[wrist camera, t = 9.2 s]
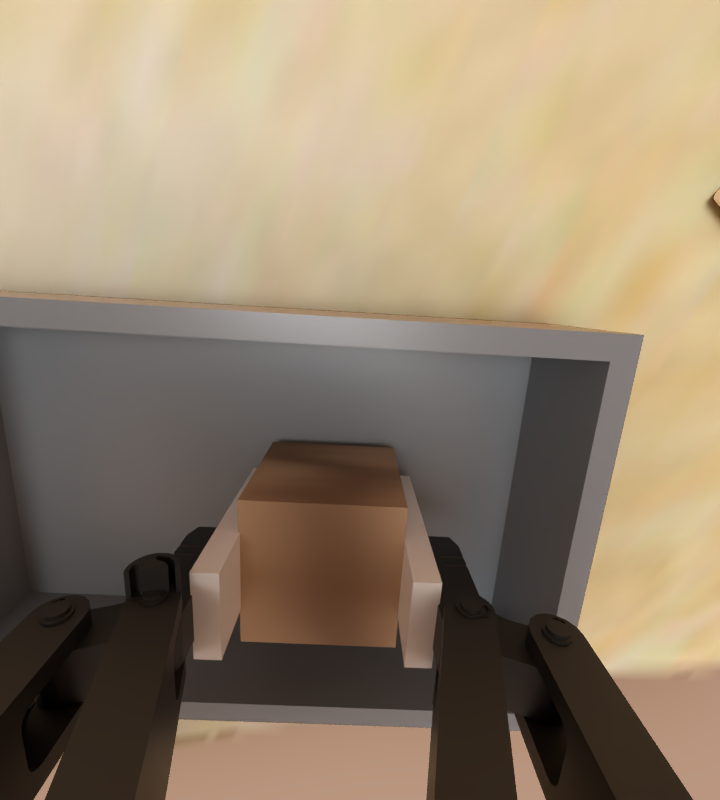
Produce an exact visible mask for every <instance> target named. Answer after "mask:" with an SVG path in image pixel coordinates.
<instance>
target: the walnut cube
mask: <svg viewBox="0 0 720 800" xmlns="http://www.w3.org/2000/svg"><path fill="white" fill-rule="evenodd" d="M237 504H238V532H239V533H240V584H241V610H240V635H241V641H244V642H269V643H294V644H318V645H343V646H368V647H393V648H395V647H396V636H397V624H398V607H399V597H400V587H401V576H402V566H403V556H404V545H405V535H406V524H407V513H408V506H407V502H406V498H405V494H404V489H403V485H402V481H401V477H400V473H399V469H398V465H397V460H396V456H395V452H394V448H390V447H369V446H348V445H328V444H307V443H286V442H273V443H272V445H271V446H270V448H269V449H268V451H267V453H266V454H265V456H264V458H263V459H262V461H261V462H260V464H259V466H258V467H257V469H256V471H255V472H254V474H253V475H252V477H251V479H250V480H249V482H248V484H247V485H246V487H245V489H244V490H243V492H242V493H241V495H240V497H239V498H238V500H237Z"/></svg>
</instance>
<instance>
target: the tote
mask: <svg viewBox="0 0 720 800" xmlns="http://www.w3.org/2000/svg"><path fill="white" fill-rule="evenodd" d="M643 337H644V335H638V334H630V333H621V332H613V331H604V330H596V329H587V328H578V327H570V326H561V325H553V324H541V323H524V322H508V321H491V320H475V319H458V318H441V317H425V316H408V315H392V314H375V313H358V312H342V311H325V310H309V309H292V308H276V307H259V306H242V305H226V304H209V303H193V302H176V301H160V300H143V299H126V298H110V297H93V296H77V295H60V294H43V293H27V292H10V291H0V642H1V641H2V640H3V639H4V638H5V637H6V636H7V635H8V634H9V633H10V632H11V631H12V630H13V629H14V628H15V627H16V626H17V625H18V624H19V623H20V622H21V621H22V620H23V619H24V618H25V617H26V616H27V615H28V614H29V613H31V612H32V611H33V610H35V609H36V608H37V607H38V606H40V605H42V604H44V603H46V602H48V601H50V600H52V599H55V598H59V597H62V596H67V595H80V596H85V597H86V598H87V599H88V600H89V601H90V608H91V609H95V608H101V607H106V606H111V605H116V604H120V603H124V602H125V600H126V595H125V585H124V575H123V571H124V570H125V569H126V567H127V566H128V565H129V564H130V563H132V562H133V561H135V560H136V559H138V558H141V557H143V556H146V555H149V554H154V553H169V554H173V555H174V552H175V551H176V549H177V548H178V547H180V544H181V542H182V541H183V540H184V538H185V537H186V535H187V534H189V533H190V532H192V531H193V530H195V529H196V528H198V527H199V526H200V527H217V526H218V525H219V523H220V522H221V520H222V518H223V517H224V515H225V513H226V512H227V510H228V509H229V507H230V505H231V504H232V502H233V500H234V499H235V497H236V496H237V494H238V492H239V491H240V489H241V487H242V486H243V484H244V483H245V481H246V479H247V478H248V476H249V474H250V473H251V471H252V470H253V468H257V467H258V466H259V464H260V462H261V461H262V459H263V458H264V456H265V454H266V453H267V451H268V449H269V448H270V446H271V445H272V443H273V442H286V443H307V444H328V445H348V446H369V447H390V448H394V452H395V456H396V460H397V465H398V469H399V473H400V475H402V476H410V479H411V482H412V486H413V489H414V492H415V495H416V499H417V502H418V505H419V509H420V512H421V515H422V518H423V522H424V525H425V528H426V532H427V535H428V536H436V537H449V538H451V539H452V540H453V541H454V542H455V543H456V544H457V545H458V546H459V548H460V551H461V553H462V555H463V558H464V560H465V563H466V567H468V570H469V572H470V575H471V577H472V579H473V582H474V584H475V587H476V589H477V591H478V594H479V596H481V597H482V598H484V599H485V600H487V601H488V602H489V603H490V604H491V605H492V606H493V608H494V610H495V613H496V614H497V615H499V616H500V617H502V618H505V619H508V620H511V621H514V622H517V623H521V624H524V625H528V624H529V621H530V618H531V617H533V616H534V615H536V614H543V613H546V614H552V615H556V616H558V617H561V618H563V619H565V620H567V621H569V622H570V623H571V624H573V625H574V626H576V627H577V626H578V622H579V618H580V613H581V609H582V604H583V600H584V596H585V591H586V587H587V583H588V578H589V574H590V569H591V565H592V561H593V556H594V552H595V548H596V543H597V539H598V534H599V530H600V526H601V521H602V517H603V512H604V508H605V504H606V499H607V495H608V491H609V486H610V482H611V477H612V473H613V469H614V464H615V460H616V456H617V451H618V447H619V442H620V438H621V434H622V429H623V425H624V420H625V416H626V412H627V407H628V403H629V399H630V394H631V390H632V385H633V381H634V377H635V372H636V368H637V364H638V359H639V355H640V350H641V346H642V342H643ZM185 660H186V677H185V683H184V689H183V695H182V701H181V707H180V713H179V719H189V720H218V721H247V722H275V723H304V724H333V725H362V726H392V727H419V728H432V714H433V705H432V699H433V691H434V684H435V676H436V668H437V666H436V661H435V657H434V654H433V662H432V668H408V667H404V661H403V654H402V646H401V638H400V631H399V623H398V624H397V636H396V647H395V648H393V647H368V646H343V645H318V644H294V643H269V642H244V641H241V635H240V613H239V615H238V618H237V621H236V623H235V626H234V629H233V631H232V634H231V637H230V639H229V642H228V645H227V647H226V650H225V653H224V655H223V658H222V660H201V659H194V657H193V644H192V646H191V648H190V650H189V652H188V654H187V656H186V658H185ZM507 714H508V723H509V731H520V728H519V725H518V723H517V720H516V717H515V715H514V712H511V711H508V710H507Z"/></svg>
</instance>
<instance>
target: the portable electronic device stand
mask: <svg viewBox="0 0 720 800" xmlns="http://www.w3.org/2000/svg"><path fill="white" fill-rule="evenodd" d="M714 200H715V201H716V203H717V204H718V205H719V207H720V188H719V189H718V191H717V192H716V193H715V195H714Z"/></svg>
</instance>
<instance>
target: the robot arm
mask: <svg viewBox="0 0 720 800" xmlns="http://www.w3.org/2000/svg"><path fill="white" fill-rule="evenodd" d="M256 469H257V468H253V470H252V471H251V473H250V474H249V476H248V478H247V479H246V481H245V483H244V484H243V486H242V487H241V489H240V491H239V492H238V494H237V496H236V497H235V499H234V500H233V502H232V504H231V505H230V507H229V509H228V510H227V512H226V513H225V515H224V517H223V518H222V520H221V522H220V523H219V525H218V526H217V527H200V526H199V527H198V528H196V529H195V530H193V531H192V532H190V533H189V534H187V535H186V537H185V538H184V540H183V541H182V542H181V544H180V547H178V548H177V549H176V551H175V552H174V555H173V554H169V553H154V554H149V555H146V556H143V557H141V558H138V559H136V560H135V561H133V562H132V563H130V564H129V565H128V566H127V567H126V569H125V570H124V571H123V575H124V585H125V595H126V600H125V602H124V603H120V604H116V605H111V606H106V607H101V608H95V609H91V608H90V601H89V600H88V599H87V598H86V597H85V596H80V595H67V596H62V597H59V598H55V599H52V600H50V601H48V602H46V603H44V604H42V605H40V606H38V607H37V608H36V609H35V610H33V611H32V612H31V613H29V614H28V615H27V616H26V617H25V618H24V619H23V620H22V621H21V622H20V623H19V624H18V625H17V626H16V627H15V628H14V629H13V630H12V631H11V632H10V633H9V634H8V635H7V636H6V637H5V638H4V639H3V640H2V641H1V642H0V800H34V798H35V796H36V795H37V793H38V792H39V790H40V788H41V787H42V785H43V784H44V782H45V781H46V779H47V778H48V776H49V774H50V773H51V771H52V770H53V768H54V767H55V765H56V763H57V762H58V760H59V759H60V757H61V755H62V754H63V756H62V758H61V761H60V763H59V766H58V768H57V771H56V773H55V776H54V778H53V781H52V783H51V786H50V788H49V791H48V793H47V796H46V798H45V800H165V797H166V791H167V784H168V778H169V773H170V767H171V761H172V755H173V749H174V743H175V737H176V731H177V725H178V719H179V713H180V707H181V701H182V695H183V689H184V683H185V677H186V660H185V658H186V656H187V654H188V652H189V650H190V648H191V646H192V644H193V657H194V659H201V660H222V658H223V655H224V653H225V650H226V647H227V645H228V642H229V639H230V637H231V634H232V631H233V629H234V626H235V623H236V621H237V618H238V615H239V613H240V610H241V584H240V533H239V532H238V504H237V500H238V498H239V497H240V495H241V493H242V492H243V490H244V489H245V487H246V485H247V484H248V482H249V480H250V479H251V477H252V475H253V474H254V472H255V471H256ZM400 477H401V481H402V485H403V489H404V494H405V498H406V502H407V506H408V513H407V524H406V535H405V545H404V556H403V566H402V576H401V587H400V597H399V607H398V623H399V631H400V638H401V646H402V654H403V661H404V667H408V668H432V662H433V654H434V657H435V661H436V666H437V668H436V676H435V684H434V691H433V699H432V705H433V714H432V728H431V742H430V757H429V772H428V785H427V800H517V793H516V785H515V775H514V767H513V758H512V749H511V740H510V732H509V723H508V714H507V710H508V711H511V712H514V715H515V717H516V720H517V723H518V725H519V728H520V731H521V733H522V736H523V739H524V742H525V744H526V747H527V749H528V752H529V755H530V758H531V760H532V763H533V766H534V769H535V771H536V774H537V777H538V779H539V782H540V785H541V787H542V790H543V793H544V795H545V798H546V800H693V799H692V798H691V796H690V794H689V793H688V791H687V790H686V788H685V787H684V785H683V784H682V782H681V781H680V779H679V778H678V776H677V775H676V773H675V772H674V770H673V769H672V767H671V766H670V765H669V763H668V761H667V760H666V758H665V757H664V755H663V754H662V752H661V751H660V749H659V748H658V746H657V745H656V743H655V742H654V740H653V739H652V737H651V736H650V734H649V733H648V731H647V730H646V728H645V727H644V726H643V724H642V722H641V721H640V719H639V718H638V716H637V715H636V713H635V712H634V710H633V709H632V708H631V706H630V704H629V703H628V701H627V700H626V698H625V697H624V695H623V694H622V692H621V691H620V689H619V688H618V686H617V685H616V683H615V682H614V680H613V679H612V677H611V676H610V674H609V673H608V671H607V670H606V668H605V667H604V665H603V664H602V662H601V661H600V659H599V658H598V656H597V655H596V653H595V652H594V650H593V649H592V647H591V646H590V644H589V643H588V641H587V640H586V638H585V637H584V635H583V634H582V633H581V632H580V631H579V630H578V628H577V627H576V626H574V625H573V624H571V623H570V622H569V621H567V620H565V619H563V618H561V617H558V616H556V615H552V614H546V613H543V614H536V615H534V616H533V617H531V618H530V621H529V624H528V625H524V624H521V623H517V622H514V621H511V620H508V619H505V618H502V617H500V616H499V615H497V614H496V613H495V610H494V608H493V606H492V605H491V604H490V603H489V602H488V601H487V600H485V599H484V598H482V597H481V596H479V594H478V591H477V589H476V587H475V584H474V582H473V579H472V577H471V575H470V572H469V570H468V567H466V563H465V560H464V558H463V555H462V553H461V551H460V548H459V546H458V545H457V544H456V543H455V542H454V541H453V540H452V539H451V538H449V537H436V536H428V535H427V532H426V528H425V525H424V522H423V518H422V515H421V512H420V509H419V505H418V502H417V499H416V495H415V492H414V489H413V486H412V482H411V479H410V476H402V475H400ZM63 752H64V753H63Z"/></svg>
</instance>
